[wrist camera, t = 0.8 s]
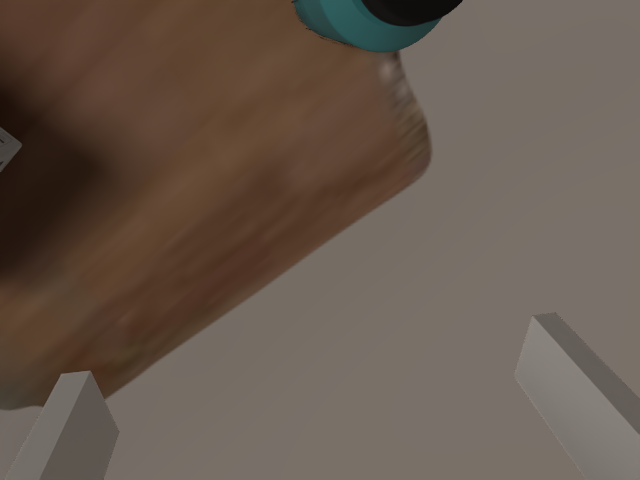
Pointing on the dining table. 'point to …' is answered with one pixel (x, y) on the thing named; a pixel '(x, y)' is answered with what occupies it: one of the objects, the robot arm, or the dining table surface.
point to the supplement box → (7, 148)
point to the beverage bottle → (373, 20)
